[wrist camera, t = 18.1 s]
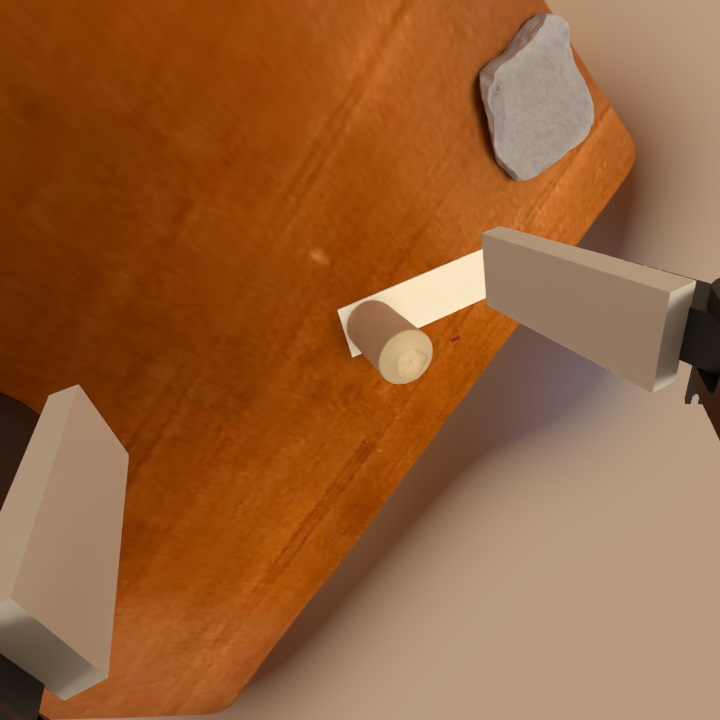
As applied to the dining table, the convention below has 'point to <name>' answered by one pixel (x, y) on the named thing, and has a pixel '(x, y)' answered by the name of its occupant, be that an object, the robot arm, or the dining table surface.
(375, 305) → the candle
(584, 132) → the stone block
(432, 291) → the test strip
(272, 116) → the dining table surface
